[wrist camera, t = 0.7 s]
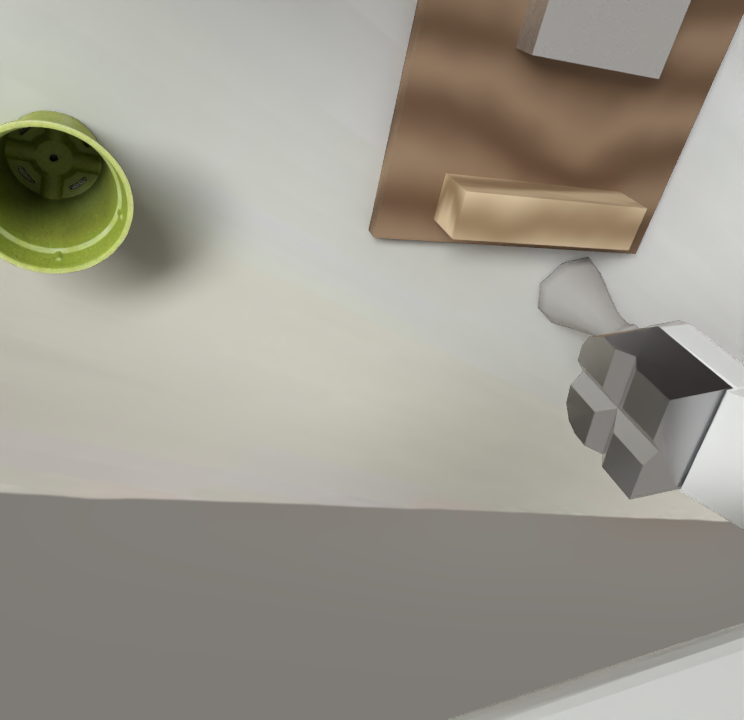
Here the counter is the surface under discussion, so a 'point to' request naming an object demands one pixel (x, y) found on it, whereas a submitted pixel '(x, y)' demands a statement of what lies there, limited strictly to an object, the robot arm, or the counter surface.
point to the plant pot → (59, 196)
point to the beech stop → (536, 213)
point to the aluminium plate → (604, 32)
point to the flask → (580, 300)
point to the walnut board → (536, 113)
